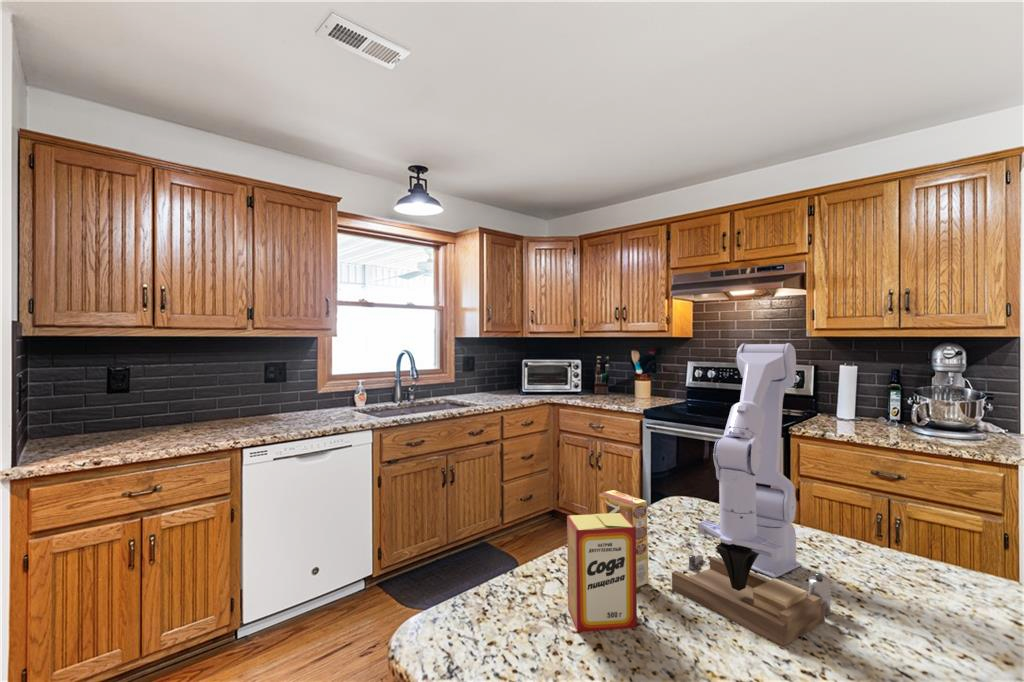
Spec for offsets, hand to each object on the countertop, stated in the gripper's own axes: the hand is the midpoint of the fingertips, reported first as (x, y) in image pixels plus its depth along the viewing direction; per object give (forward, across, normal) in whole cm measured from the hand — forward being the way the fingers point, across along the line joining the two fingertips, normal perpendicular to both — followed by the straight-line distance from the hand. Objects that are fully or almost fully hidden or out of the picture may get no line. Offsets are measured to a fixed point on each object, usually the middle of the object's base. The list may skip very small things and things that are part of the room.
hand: (738, 587), depth 84 cm
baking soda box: (+3, -9, -23) cm, 25 cm away
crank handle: (+3, -13, +6) cm, 15 cm away
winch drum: (+2, +9, +8) cm, 13 cm away
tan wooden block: (+1, +7, 0) cm, 7 cm away
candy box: (+3, -17, -10) cm, 20 cm away
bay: (+2, +1, 0) cm, 3 cm away
